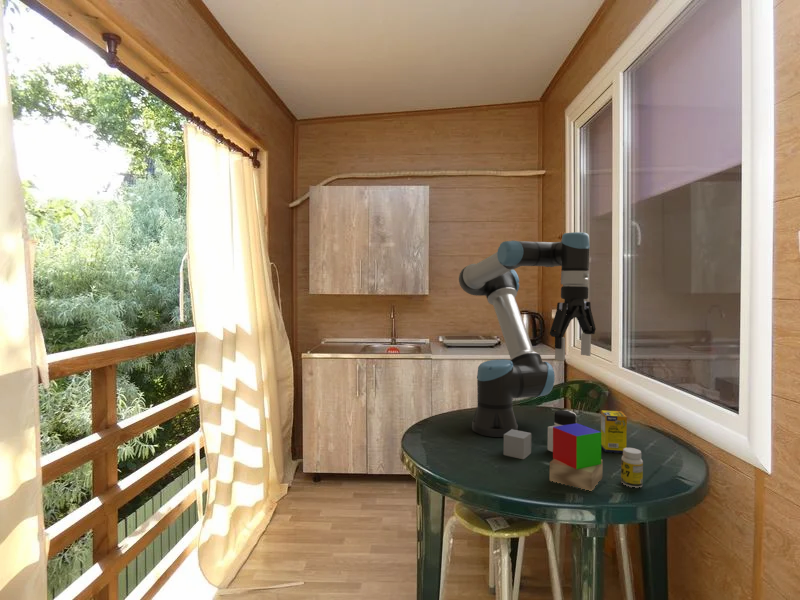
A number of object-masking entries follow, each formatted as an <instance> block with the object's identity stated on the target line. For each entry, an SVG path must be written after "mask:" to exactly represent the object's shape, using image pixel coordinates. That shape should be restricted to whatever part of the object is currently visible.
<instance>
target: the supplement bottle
mask: <svg viewBox="0 0 800 600" xmlns="http://www.w3.org/2000/svg"><path fill="white" fill-rule="evenodd" d="M620 460H621V461H620V462H621V463H620V464H621V465H620V483H621V484H622V483H623V484H622V485H624V486H625V485H626V487H628V486H629V487H628V488H632V487H635V488H634V489H639V487H640V488H642V487H643V483H644V482H643V481H644V480H643V479H644V478H643V477H644V476H643V475H644V461H643V459H642V450H640V449H638V448H634V447H627V448H624V449H623V453H622V456H621V459H620Z"/></svg>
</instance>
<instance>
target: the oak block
mask: <svg viewBox="0 0 800 600" xmlns="http://www.w3.org/2000/svg"><path fill="white" fill-rule="evenodd" d="M603 460H604V459H602V458H601V464H599V465H595V466H590V467H585V468H581V469H575V468H573V467H571V466H568V465H566V464H564V463H562V462H560V461H558V460H556V459H554V458H552V460H551V461H549V480H548V481H550V482H552V481H553V482H552V483H556V482H557V484H559V483H561V484H560V485H563V484H565V485H564V486H567V485H570V486H569V487H571V486H574V487H578V488H581V489H580V490H582V489H585V490H584V491H586V490H589V491H592V490H595V488H596V487H597V486H598V484H599V483H600V482H601V480H602V479H603V464H604V463H603V462H604V461H603ZM599 481H600V482H599ZM598 482H599V483H598ZM596 485H597V486H596ZM595 486H596V487H595ZM574 487H573V488H574ZM578 488H577V489H578ZM589 491H588V492H589ZM592 492H593V491H592Z"/></svg>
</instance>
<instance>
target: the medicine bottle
mask: <svg viewBox="0 0 800 600" xmlns="http://www.w3.org/2000/svg"><path fill="white" fill-rule="evenodd" d="M553 418H554V419H553V420H554V422H553V423H554V425H550V426H547V451H548V452H551V453H553V427H556V426H562V425H569V424H575V423H577V414H576V413H575V412H574V411H572V410H567V409H560V410H559V409H558V410H557V411H555V412H554V417H553Z"/></svg>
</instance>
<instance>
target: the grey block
mask: <svg viewBox="0 0 800 600" xmlns="http://www.w3.org/2000/svg"><path fill="white" fill-rule="evenodd" d="M531 454H532V432H527V431H523V430H513V429H511V430H510V431H508V432H507V433H505V434H504V437H503V456H507V457H511V458H516V459H521V460H525V459H526V458H527V457H528V456H530V455H531Z"/></svg>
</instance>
